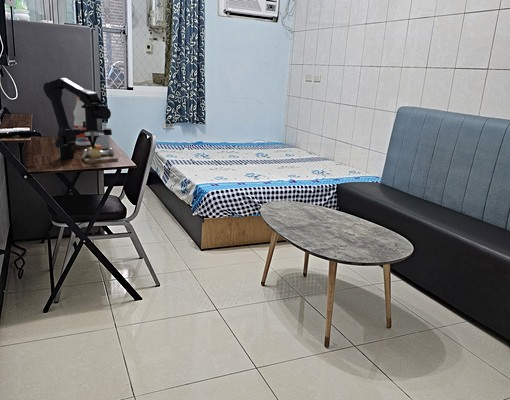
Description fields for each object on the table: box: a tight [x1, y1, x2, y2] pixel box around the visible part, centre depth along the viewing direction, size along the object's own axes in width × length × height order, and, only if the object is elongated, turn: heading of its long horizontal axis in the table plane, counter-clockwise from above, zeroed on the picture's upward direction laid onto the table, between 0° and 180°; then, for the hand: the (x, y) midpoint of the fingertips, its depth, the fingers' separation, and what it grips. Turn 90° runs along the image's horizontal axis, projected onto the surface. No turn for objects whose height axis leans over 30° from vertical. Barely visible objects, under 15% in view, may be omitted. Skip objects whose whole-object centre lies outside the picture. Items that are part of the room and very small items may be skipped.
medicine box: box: [95, 134, 110, 150], centre depth 260 cm, size 8×4×9 cm, turn 141°
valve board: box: [81, 146, 119, 164], centre depth 231 cm, size 16×13×7 cm
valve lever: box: [94, 143, 103, 151], centre depth 227 cm, size 11×3×2 cm, turn 34°
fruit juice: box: [72, 97, 93, 146], centre depth 268 cm, size 9×9×28 cm
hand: (93, 148), depth 224 cm, fingers closed
